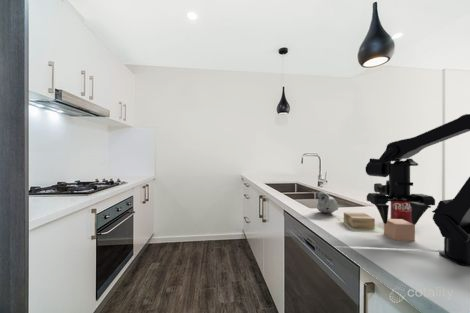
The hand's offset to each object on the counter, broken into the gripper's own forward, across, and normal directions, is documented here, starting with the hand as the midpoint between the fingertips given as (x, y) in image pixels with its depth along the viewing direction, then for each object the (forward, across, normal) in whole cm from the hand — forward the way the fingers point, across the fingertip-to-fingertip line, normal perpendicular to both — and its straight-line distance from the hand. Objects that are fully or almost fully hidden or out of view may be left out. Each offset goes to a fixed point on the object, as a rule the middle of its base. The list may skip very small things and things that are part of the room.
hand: (399, 223), depth 71 cm
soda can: (+5, -12, -17) cm, 21 cm away
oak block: (+4, +8, -11) cm, 14 cm away
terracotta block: (+5, 0, 0) cm, 5 cm away
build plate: (+5, +7, -12) cm, 15 cm away
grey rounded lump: (+5, +15, -26) cm, 31 cm away
